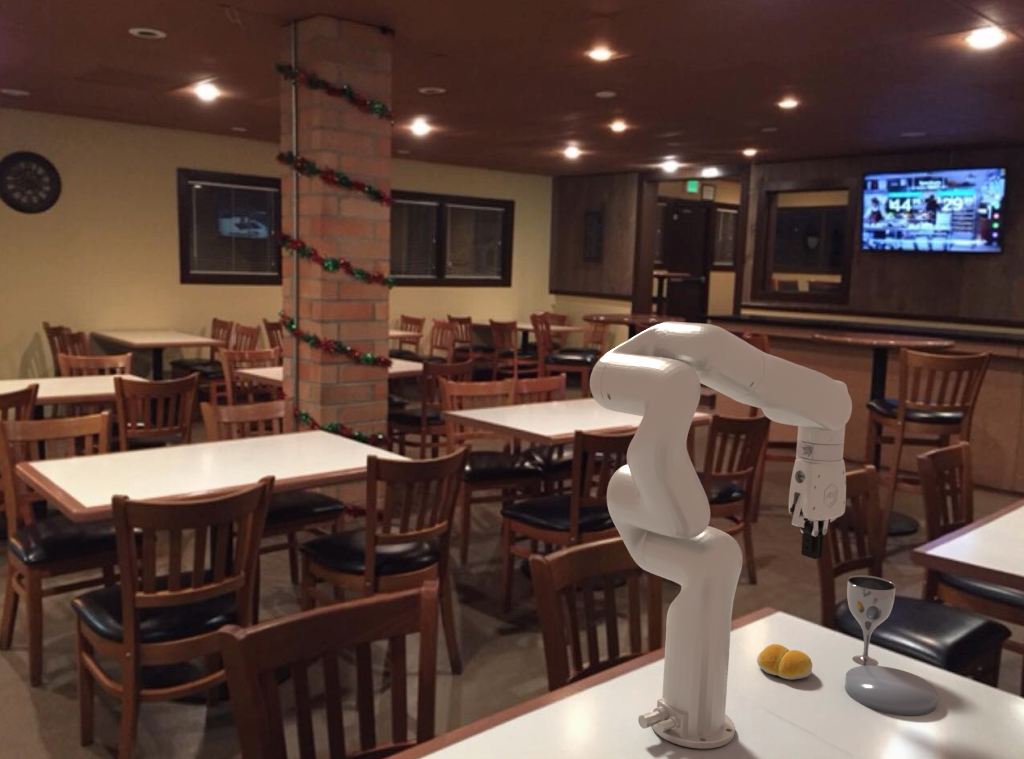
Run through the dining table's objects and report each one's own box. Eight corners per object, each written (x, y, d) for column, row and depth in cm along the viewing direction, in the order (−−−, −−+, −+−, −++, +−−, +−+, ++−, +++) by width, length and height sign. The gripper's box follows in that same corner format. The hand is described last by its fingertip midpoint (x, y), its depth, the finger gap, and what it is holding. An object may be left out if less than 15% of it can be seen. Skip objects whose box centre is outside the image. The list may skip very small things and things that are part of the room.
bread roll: (801, 685, 147) (801, 662, 146) (751, 671, 152) (752, 649, 152) (820, 668, 153) (820, 646, 152) (771, 655, 159) (772, 634, 158)
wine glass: (840, 650, 163) (846, 572, 161) (886, 657, 161) (893, 578, 159) (842, 667, 155) (849, 586, 154) (891, 675, 153) (898, 592, 151)
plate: (904, 724, 136) (905, 711, 135) (827, 688, 147) (828, 676, 147) (953, 702, 143) (954, 691, 143) (876, 670, 155) (877, 659, 155)
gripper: (810, 459, 141) (802, 569, 143) (865, 452, 149) (857, 556, 151) (773, 451, 147) (765, 556, 149) (827, 444, 156) (820, 544, 158)
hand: (811, 556), depth 150 cm, fingers closed
